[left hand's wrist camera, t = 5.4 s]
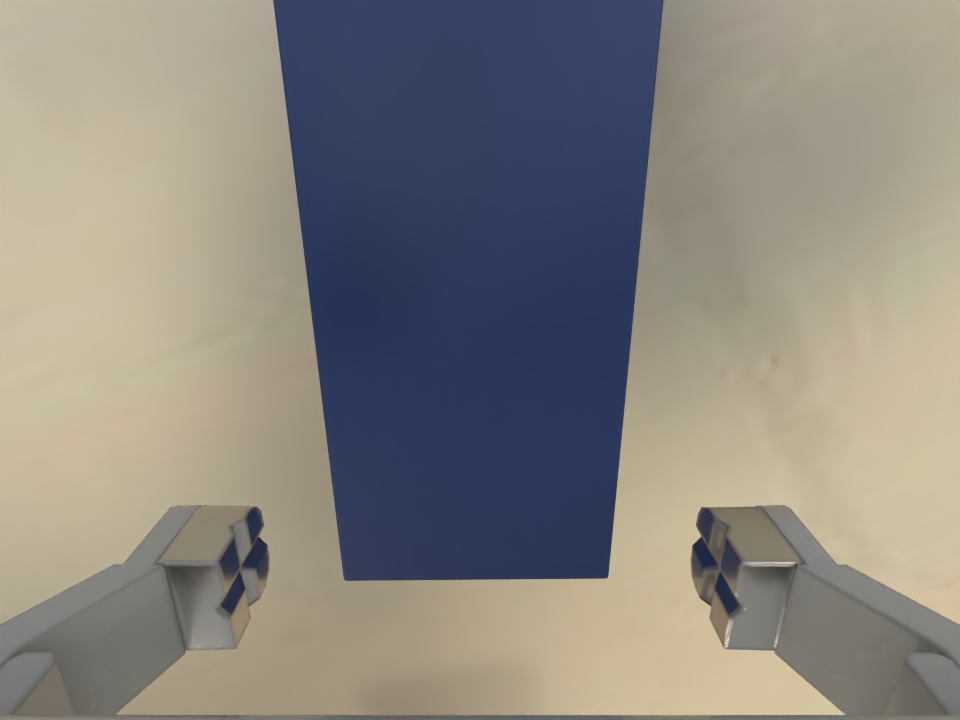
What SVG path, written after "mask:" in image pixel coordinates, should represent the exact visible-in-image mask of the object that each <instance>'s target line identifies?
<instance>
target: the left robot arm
mask: <svg viewBox="0 0 960 720" xmlns="http://www.w3.org/2000/svg"><path fill="white" fill-rule="evenodd" d="M263 527H264V523H263V518H262V514H261V510H260V509H258V508H257V507H252V506H206V505H204V506H200V505H177V506H174V507H171V508H170V509H169V510H168V511H167V512H166V513H165V514H164V516H163V517H162V518H161V519H160V520H159V522H158V523H157V524H156V525H155V526H154V528H153V529H152V530H151V531H150V532H149V534H148V535H147V536H146V537H145V538H144V540H143V541H142V542H141V543H140V544H139V546H138V547H137V548H136V549H135V550H134V552H133V553H132V554H131V555H130V556H129V558H128V559H127V560H126V561H125V562H124V564H123V565H112V566H110V567H108V568H107V569H105V570H103V571H101V572H99V573H97V574H95V575H93V576H91V577H90V578H88V579H86V580H84V581H82V582H80V583H78V584H76V585H74V586H73V587H71V588H69V589H67V590H65V591H63V592H61V593H59V594H57V595H56V596H54V597H52V598H50V599H48V600H46V601H44V602H42V603H40V604H39V605H37V606H35V607H33V608H31V609H29V610H27V611H25V612H23V613H22V614H20V615H18V616H16V617H14V618H12V619H10V620H8V621H6V622H5V623H3V624H1V625H0V720H960V625H959V624H957V623H955V622H953V621H951V620H950V619H948V618H946V617H944V616H942V615H940V614H938V613H936V612H934V611H933V610H931V609H929V608H927V607H925V606H923V605H921V604H919V603H917V602H916V601H914V600H912V599H910V598H908V597H906V596H904V595H902V594H901V593H899V592H897V591H895V590H893V589H891V588H889V587H887V586H885V585H884V584H882V583H880V582H878V581H876V580H874V579H872V578H870V577H868V576H867V575H865V574H863V573H861V572H859V571H857V570H855V569H853V568H852V567H850V566H848V565H837V564H836V562H835V561H834V560H833V559H832V558H831V556H830V555H829V554H828V553H827V552H826V550H825V549H824V548H823V547H822V546H821V544H820V543H819V542H818V541H817V540H816V538H815V537H814V536H813V535H812V534H811V532H810V531H809V530H808V529H807V528H806V526H805V525H804V524H803V523H802V522H801V521H800V519H799V518H798V517H797V516H796V515H795V513H794V512H793V511H792V510H791V509H790V508H789V507H787V506H785V505H768V506H756V507H701V509H700V511H699V513H698V517H697V523H696V527H697V529H698V530H699V532H700V534H701V536H702V537H701V538H700V539H699V540H698V541H697V542H696V543H695V544H694V545H693V546H692V554H691V571H692V578H693V582H694V585H695V588H696V590H697V593H698V595H699V597H700V599H702V600H703V601H704V602H706V603H707V604H708V605H710V606H711V612H710V617H709V618H710V620H711V623H712V625H713V627H714V629H715V631H716V633H717V635H718V637H719V639H720V641H721V643H722V645H723V647H724V649H737V650H773V651H775V654H776V655H777V656H779V657H780V658H781V659H782V660H783V661H784V662H786V663H787V664H788V665H789V666H790V667H791V668H792V669H794V670H795V671H796V672H797V673H798V674H799V675H800V676H802V677H803V678H804V679H805V680H806V681H807V682H809V683H810V684H811V685H812V686H813V687H814V688H815V689H817V690H818V691H819V692H820V693H821V694H822V695H823V696H825V697H826V698H827V699H828V700H829V701H830V702H832V703H833V704H834V705H835V706H836V707H837V708H838V709H840V710H841V711H842V712H843V713H844V714H845V715H115V714H116V713H117V712H118V711H119V710H121V709H122V708H123V707H124V706H125V705H126V704H128V703H129V702H130V701H131V700H132V699H133V698H134V697H136V696H137V695H138V694H139V693H140V692H141V691H142V690H144V689H145V688H146V687H147V686H148V685H149V684H151V683H152V682H153V681H154V680H155V679H156V678H157V677H159V676H160V675H161V674H162V673H163V672H164V671H166V670H167V669H168V668H169V667H170V666H171V665H172V664H174V663H175V662H176V661H177V660H178V659H179V658H181V657H182V656H183V655H184V654H185V651H187V650H222V649H236V648H237V645H238V643H239V641H240V639H241V637H242V635H243V633H244V631H245V629H246V627H247V625H248V623H249V620H250V618H251V617H250V612H249V606H250V605H252V604H253V603H254V602H256V601H257V600H258V599H260V597H261V595H262V593H263V590H264V588H265V586H266V581H267V577H268V572H269V553H268V546H267V545H266V544H265V543H264V542H263V541H262V540H261V539H260V538H259V537H258V536H259V534H260V532H261V530H262V529H263Z"/></svg>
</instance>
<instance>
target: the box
mask: <svg viewBox="0 0 960 720" xmlns="http://www.w3.org/2000/svg"><path fill="white" fill-rule="evenodd" d="M273 1H274V9H275V18H276V26H277V34H278V42H279V50H280V59H281V67H282V75H283V83H284V91H285V100H286V108H287V116H288V124H289V132H290V141H291V149H292V157H293V165H294V173H295V182H296V190H297V198H298V206H299V214H300V223H301V231H302V239H303V247H304V255H305V264H306V272H307V280H308V288H309V296H310V305H311V313H312V321H313V329H314V337H315V346H316V354H317V362H318V370H319V378H320V387H321V395H322V403H323V411H324V419H325V428H326V436H327V444H328V452H329V460H330V469H331V477H332V485H333V493H334V501H335V510H336V518H337V526H338V534H339V542H340V551H341V559H342V567H343V575H344V580H346V581H360V580H477V579H595V578H608V574H609V563H610V553H611V542H612V532H613V521H614V511H615V500H616V490H617V479H618V469H619V459H620V448H621V438H622V427H623V417H624V406H625V396H626V385H627V375H628V364H629V354H630V343H631V333H632V323H633V312H634V302H635V291H636V281H637V270H638V260H639V249H640V239H641V228H642V218H643V208H644V197H645V187H646V176H647V166H648V155H649V145H650V134H651V124H652V113H653V103H654V92H655V82H656V72H657V61H658V51H659V40H660V30H661V19H662V9H663V0H273Z"/></svg>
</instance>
